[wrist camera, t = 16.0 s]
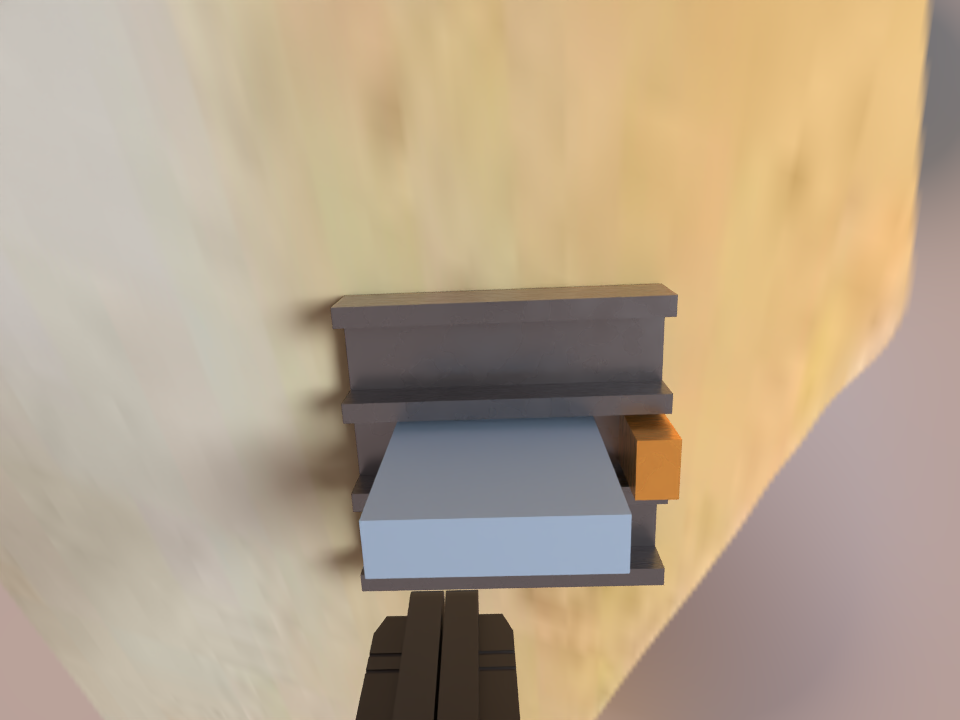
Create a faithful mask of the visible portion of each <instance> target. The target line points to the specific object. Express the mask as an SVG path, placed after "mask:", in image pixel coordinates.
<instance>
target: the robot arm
mask: <svg viewBox="0 0 960 720" xmlns="http://www.w3.org/2000/svg"><path fill="white" fill-rule="evenodd" d="M356 720H520V712H519V700H518V687H517V674H516V662H515V649H514V636H513V630H512V628H511V627H510V625H509V624H508V622H507V620H506V619H505V617H504V616H503V614H479V603H478V590H453V591H446V597H445V599H444V591H413V592H411V595H410V601H409V608H408V615H407V616H387V617H386V618H385V620H384V621H383V622H382V624H381V625H380V626H379V628H378V629H377V630H376V632H375V633H374V635H373V640H372V645H371V649H370V657H369V659H368V664H367V668H366V674H365V678H364V683H363V687H362V692H361V697H360V701H359V706H358V711H357V716H356Z"/></svg>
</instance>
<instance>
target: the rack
mask: <svg viewBox="0 0 960 720" xmlns="http://www.w3.org/2000/svg"><path fill="white" fill-rule="evenodd" d="M677 300H678V295H677V294H676V293H674V292H673V291H671V290H670V289H668V288H667V287H666V286H664V285H663V284H639V285H612V286H586V287H559V288H532V289H505V290H478V291H451V292H425V293H398V294H371V295H345V296H344V297H342V298H341V299H340V300H339V301H338V302H337V303H335V304H334V305H333V306H332V307H331V316H332V325H333V329H341V328H344V331H345V341H346V350H347V359H348V369H349V378H350V387H351V390H350V392H349V393H348V395H347V396H346V398H345V399H344V401H343V403H342V404H341V406H342V415H343V423H344V424H345V423H354V425H355V434H356V443H357V453H358V462H359V472H360V476H359V478H358V480H357V483H356V485H355V487H354V489H353V492H352V494H351V495H352V504H353V512H362V511H363V509H364V507H365V504H366V501H367V499H368V496H369V494H370V491H371V488H372V486H373V483H374V481H375V478H376V475H377V473H378V470H379V468H380V465H381V463H382V460H383V457H384V455H385V452H386V450H387V447H388V444H389V442H390V439H391V437H392V434H393V431H394V429H395V426H396V424H397V422H411V421H444V420H478V419H511V418H544V417H577V416H593V417H594V419H595V422H596V425H597V427H598V430H599V432H600V435H601V437H602V440H603V442H604V445H605V448H606V450H607V453H608V455H609V458H610V460H611V463H612V465H613V468H614V471H615V473H616V476H617V478H618V481H619V483H620V486H621V488H622V491H623V494H624V496H625V499H626V501H627V504H628V506H629V509H630V511H631V514H632V520H631V552H630V573H629V574H580V575H532V576H484V577H435V578H387V579H365V572H364V566H363V569H362V572H361V584H362V591H398V590H445V589H493V588H541V587H589V586H636V585H664V566H663V564H662V561H661V559H660V557H659V554H658V552H657V549H656V547H655V530H656V507H657V504H668V500H671V499H679V486H680V467H681V449H682V439H681V437H680V436H679V434H678V433H677V432H676V430H675V429H674V427H673V426H672V424H671V423H670V421H669V420H668V418H667V417H666V415H665V414H672V403H673V393H672V392H671V391H670V390H669V388H668V387H667V386H666V384H665V383H664V382H663V381H662V367H663V343H664V320H665V317H677Z"/></svg>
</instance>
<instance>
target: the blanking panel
mask: <svg viewBox="0 0 960 720" xmlns="http://www.w3.org/2000/svg"><path fill="white" fill-rule="evenodd" d="M631 520H632V514H631V511H630V509H629V506H628V504H627V501H626V499H625V496H624V494H623V491H622V488H621V486H620V483H619V481H618V478H617V476H616V473H615V471H614V468H613V465H612V463H611V460H610V458H609V455H608V453H607V450H606V448H605V445H604V442H603V440H602V437H601V435H600V432H599V430H598V427H597V425H596V422H595V419H594V417H593V416H577V417H544V418H511V419H478V420H444V421H411V422H397V424H396V426H395V429H394V431H393V434H392V437H391V439H390V442H389V444H388V447H387V450H386V452H385V455H384V457H383V460H382V463H381V465H380V468H379V470H378V473H377V475H376V478H375V481H374V483H373V486H372V488H371V491H370V494H369V496H368V499H367V501H366V504H365V507H364V509H363V512H362V514H361V517H360V520H359V526H360V535H361V544H362V554H363V563H364V572H365V579H387V578H435V577H484V576H532V575H580V574H629V573H630V552H631Z"/></svg>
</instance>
